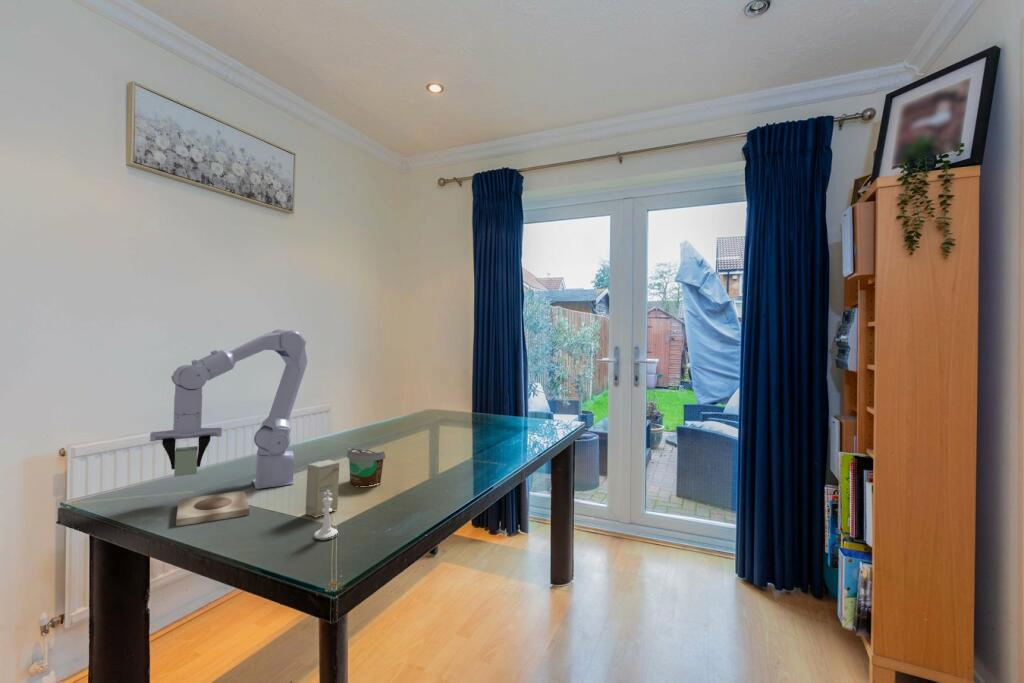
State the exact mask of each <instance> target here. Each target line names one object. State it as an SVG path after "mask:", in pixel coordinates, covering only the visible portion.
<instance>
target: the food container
mask: <svg viewBox="0 0 1024 683" xmlns="http://www.w3.org/2000/svg"><path fill="white" fill-rule="evenodd" d="M346 458H347V459H348V464H349V466H348V468H349V483H350V485H351V486H352V485H353V487H355V486H358V487H357V488H361V487H360V486H369V485H374V484H377V483H380V484H381V482H382V474H383V467H384V466H383V465H384V460H385V459H386V453H385V450H383V451H379V452H378V451H377V452H374V451H372V450H369V449H364V450H363V449H362V450H361V449H355V446H354V445H353V446H350V447H348V450H347V454H346Z"/></svg>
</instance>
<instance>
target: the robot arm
mask: <svg viewBox="0 0 1024 683" xmlns="http://www.w3.org/2000/svg"><path fill="white" fill-rule="evenodd" d="M306 344H307V341H306V339H305V338H304V337H303V335H302V334H301V333H300V332H299V331H297V330H292V329H291V330H285V329H275V330H273V331H271V332H266V333H264V334H262V335H260V336H258V337H256V338H253V339H252V340H250V341H248V342H246V343H243V344H241V345H240V346H238V347H235V348H234V349H232V350H230V351H229V350H228V351H226V350H225V349H224V350H222V349H221V350H216V349H214V350H211V351H210V354H209V355H207V356H205V357H203V358H200V359H193V360H191V364H182V365H180V366H178V367H177V368H176V369H175V370H174V371H173V374H172V375H171V377H170V378H171V381H172V383H173V384H174V387H175V388H174V389H175V390H174V399H173V429H169V430H161V431H151V432H150V435H149V439H150V440H149V442H156V441H162V443H161V445H162V446H163V448H164V451H165V452H166V454H167V456H168V459H169V462H170V467H171V470H175V450H176V440H180V439H181V440H183V439H184V440H185V439H195V438H198V451H197V468H200V467H201V463H202V459H203V457H204V454H205V452H206V449H207V448H208V446H209V444H210V441H211V438H213V437H222V435H223V434H222V427H202V419H203V418H202V414H203V413H202V412H203V387H204V386H205V384H206V382H207V381H211V380H212V379H215V378H217V377H218V376H221V375H223V374H225V373H227V372H229V371H231V370H234V367H235V365H236V363H237V362H239V361H241V360H245V359H247V358H249V357H252V356H253V355H255V354H259V353H261V352H263V351H267V350H268V351H274V352H276V353H277V354H278V355H279V356H280V357H281V359H282V360H283V362H284V363H285V366H284V370H283V372H282V374H281V375H282V376H281V378H280V381H279V384H278V387H277V390H276V392H275V396H274V400H273V402H272V405H271V408H270V412H269V414H268V415H267V416H268V417H267V418H265V419H264V420H263V421H262V424H261V426H260V428H259V429H258V430H257V431H255V434H254V437H253V443H254V444H255V445H256V447H257V451H256V471H255V473H256V474H255V475H256V476H255V478H254V479H253V480H252V482H253V486H254V488H255V490H259V489H267V488H275V487H281V486H282V487H283V486H291V485H293V484H294V466H295V465H294V464H295V458H294V457H295V455H294V451H293V450H287V449H288V448H289V446H290V443H291V439H290V435H291V434H290V433H291V429H292V428H291V425H290V422H289V420H290V417H291V414H292V412H293V407H294V405H295V402H296V399H297V396H298V393H299V389H300V387H301V384H302V380H303V378H304V377H303V376H304V375H305V371H306V367H307V365H308V356H307V352H306Z"/></svg>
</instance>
